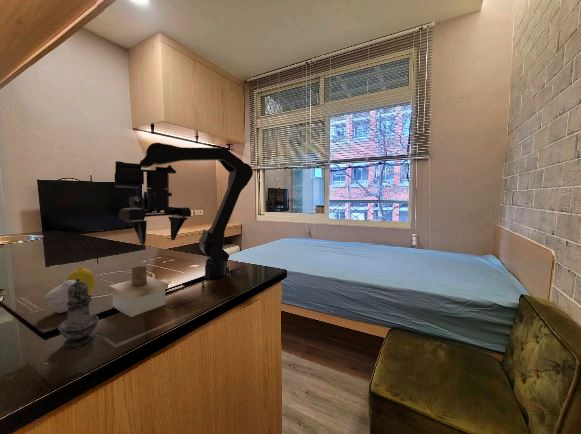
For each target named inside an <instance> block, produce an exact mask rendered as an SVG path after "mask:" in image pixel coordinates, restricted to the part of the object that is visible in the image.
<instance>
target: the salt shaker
mask: <svg viewBox="0 0 581 434" xmlns="http://www.w3.org/2000/svg"><path fill="white" fill-rule="evenodd" d="M79 280H80V279H79V278H77V279H76V280H75V281H76V282H75V283H73V284H72V285H70V286H69V287H68V303H66V306H67V307H68V312H67V318H66V319H65V320H63V321H62V322H61V323H60V324H58V326H57V330H58V331H59V332H60V334H61V336H62V337H63V338H64V339H65V340H63V341H62V342H61V343H60V348H61V349H63V350H76V349H81V348H84V347H86V346H90V345H91V344H92V343H94V342H96V341H97V339H98V337H99V336H98V334H97V333H96V332H94V331H95V329H96V328H97V326H98V322H99V320H100V318H99V316H97V315H94V314H91V313H90V303H91V302H92V301H91V299H90V298H89V293H88V286H87V284H86V283H84V282H79Z"/></svg>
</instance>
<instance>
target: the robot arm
mask: <svg viewBox="0 0 581 434" xmlns="http://www.w3.org/2000/svg"><path fill="white" fill-rule="evenodd" d="M183 161H184V162H187V161H188V162H189V161H190V162H191V161H193V162H194V161H195V162H196V161H198V162H199V161H218V162H219V163H220V164H221V166H222V167H223V168H224V169H225V171H227V172H228V173H229V174H228V178H227V189H226V191H225V194H224V196H223V198H222V200H221V203H220V205H219V208H218V210H217V213H216V216H215V218H214V220H213V221H212V222H213V223H212V224H211V226H210V227H209V229H208V230H206V229H203V230H202V233H201V236H200V238H199V239H198V242H199V248H200V251H201V252H203V254H204V255H205V256H206V258H207V259H206V260H205V264H204V275H205V276H204V275H202V278H206V279H208V280H212V281H215V282H216V281H219V280H222V279H225V278H228V277H230V276H231V275H230V274H228V261H229V258H230V254H229V253H228V252H227V251H225V249H223V248H224V244H225V231H226V229H227V226H228V224H229V221H230V219H231V217H232V214H233V212H234V209H235V206H236V204H237V202H238V199H239V197H240V194H241V193H242V191H243V190H244V189H245V187H246V186H247V185H248V184H249V182H251V181H250V180H251V179H252V177H253V176H254V170H253V168H252V167H251V165H250V164H249V163H246V162H244V161H243V160H242V159H241V158H239V157H238V156H237V155H235V154H233V152H231V151H230V150H229V149H228V148H227V147H225V146H221V147H180V146H178V145H173V144H168V143H163V142H152V143H151V144H149V146H147V149H146V151H145V157H144V158H142V159H141V160H140V161H139V163H133V162H123V161H115V165H114V166H115V168H114V169H115V170H114V171H115V173H114V186H115V187H114V188H129V189H134V188H135V189H140V185H145V180H146V191H143V197H141V198H140V197H139V196H129V198H128V199H129V200H128V205H129V207H125V208H120V210H119V211H118V219H119V220H124V223H129V225H131V226H132V228H133V229H134V231H135V234H136V236H137V238H138V241H139V242H140V244H141V245H142V246H145V244H146V239H147V222H148V221H147V220H144V219H145V218H146V217H160V216H161V217H162V216H164V217H165V216H168V217H167V218H168V220H169V221H170V240H171V241H175V240H176V238H177V235H178V233H179V232H180V229H181V227H182V226H183V224H184V223H185V222H186V220H189V219H188V217H192V210H191V208H190V207H187V206H186V207H185V206H170V197H172V196H173V193H172V192H170V184H169V183H170V174H172V175H175V174H176V173H177V171H176V170H175V169H174V168H173V167H172V165H170V164H172V163H173V164H174V163H177V162H183ZM168 164H169V165H168ZM162 165H167V167H164V166H162ZM152 166H155V167H154V169H148V168H150V167H152ZM161 166H162V167H161ZM144 173H146V177H145V174H144ZM145 178H146V179H145Z"/></svg>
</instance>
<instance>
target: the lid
mask: <svg viewBox="0 0 581 434" xmlns="http://www.w3.org/2000/svg"><path fill="white" fill-rule="evenodd" d="M147 273H148V272H147V266H140V265H139V266H135V267H132V268H131V280H127V281H122V282H118V283H116V284H115V283H114V284H111V285H110V284H109V285H108V291H109V292H111V293H112V294H113V293H115V294H117V295H119V296H121V297H123V298H125V299H127V300H133V299H136V298H139V297H142V296H145V295H149V294H152V293H155V292H158V291H162V290H165V289H168V283H165V282H163V281H160V280H161V279H156V278H154V277H151V276H149V275H148V274H147Z"/></svg>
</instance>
